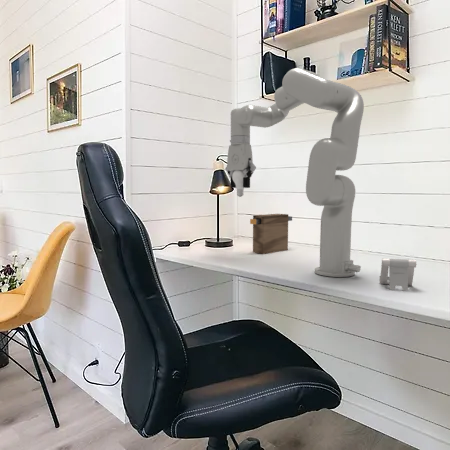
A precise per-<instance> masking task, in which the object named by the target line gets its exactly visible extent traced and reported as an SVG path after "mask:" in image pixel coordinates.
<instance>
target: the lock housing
mask: <svg viewBox="0 0 450 450" xmlns="http://www.w3.org/2000/svg"><path fill="white" fill-rule="evenodd" d="M288 216H289V214H287V213H268V214H256V215H255V214H254V215H252V219H260V218H261V224H252V253H255V254H262V255H266V254H272V253H277V252H284V251H289V221H288Z"/></svg>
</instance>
